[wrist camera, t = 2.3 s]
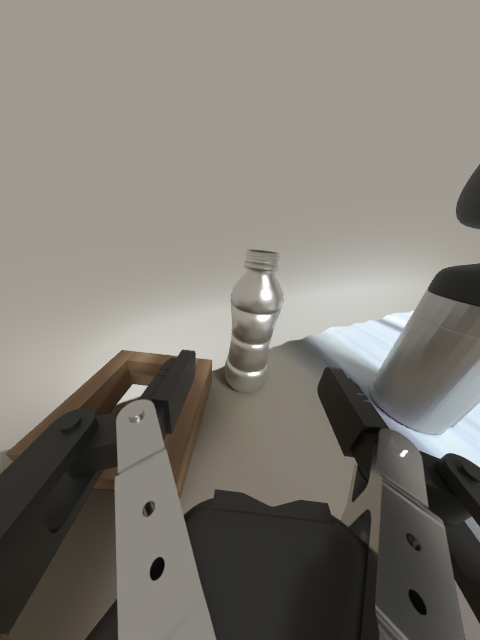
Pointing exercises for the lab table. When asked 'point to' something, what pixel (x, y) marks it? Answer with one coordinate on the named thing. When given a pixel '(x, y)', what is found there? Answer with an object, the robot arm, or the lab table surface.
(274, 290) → the plastic bottle
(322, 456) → the lab table surface
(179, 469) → the wooden square frame
